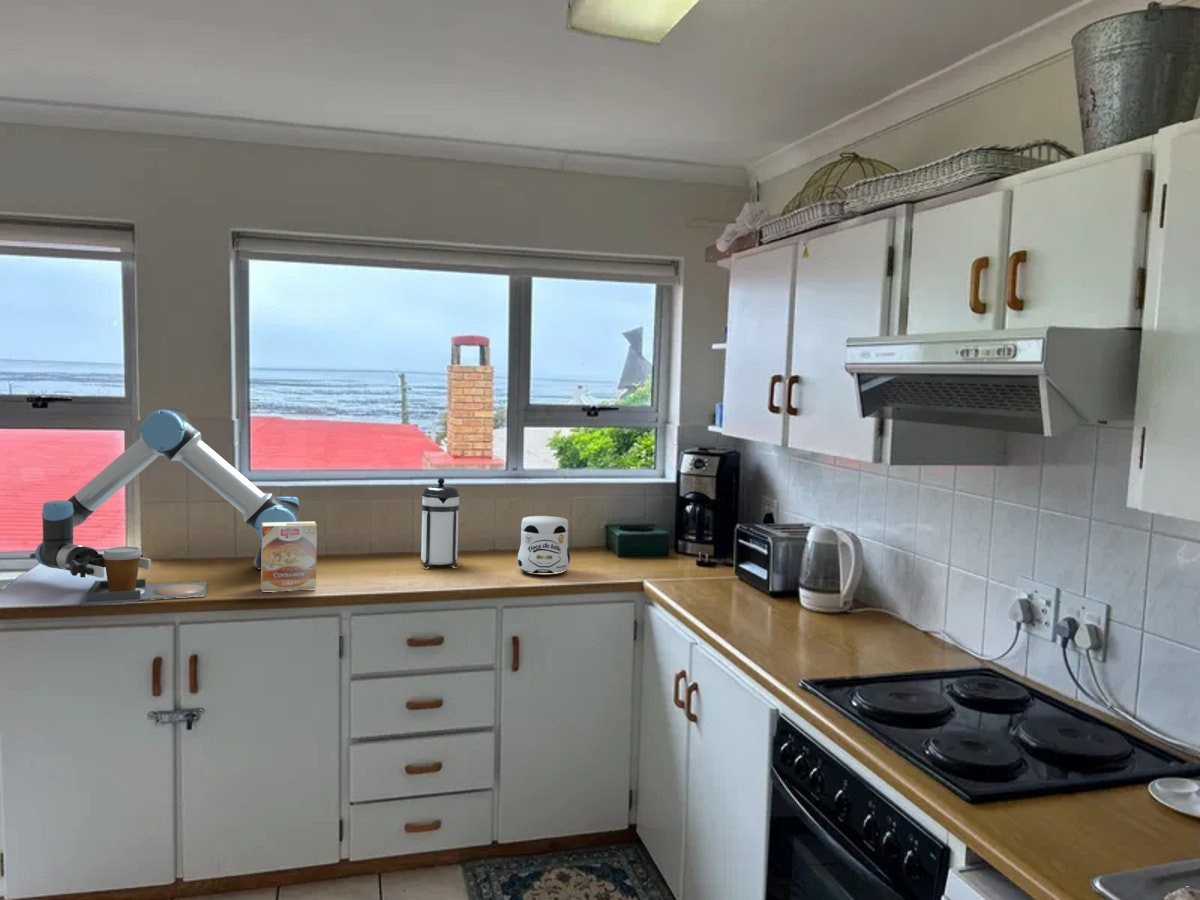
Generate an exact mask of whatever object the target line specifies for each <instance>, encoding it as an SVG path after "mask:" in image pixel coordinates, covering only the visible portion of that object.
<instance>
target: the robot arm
mask: <svg viewBox="0 0 1200 900" xmlns="http://www.w3.org/2000/svg"><path fill="white" fill-rule="evenodd" d="M139 435H140V436H139V437H140V438H139V439H137V441H135V442H134V443H132V445H130V446H129V447H127V449H126V450H125V451H124V452H122V453H121V454H120V455H118V457H116V458H115V459H114V460H113V461H112V462H111V463H110V464H108V465H107V466H106V467H105V468H104V469H102V470H101V471H100V472H99V473H98V474H96V475H95V476H94V477H92V479H91V480H89V482H87V483H86V484H85V485H84V486H83V487H81V488H80V489H79V490H77V492H76V493H74V494H73V495H72V496H71V497H69V498H68V499H67V500H63V499H62V500H50V501H45V502H44V503H43V505H42V512H41V517H42V542H40V544H38V545H37V548H36V549H35V551H34V555H35V559H36V561H37V562H38V563H39V564H41V565H42V566H46V567H47V568H51V569H59V570H64V571H69V573H70V574H71V575H72V576H73V577H74V576H77V575H78V574H79V575H80V578H86V575H87V576H91V577H94V578H95V577H96V578H101V579H102V578H105V568H106V567H105V560H104V558H103V556H102V555H103V554H104V553H99V552H98V551H97V550H96V549H95V548H94V547H89V546H84V545H79V544H74V528H75V527H79V526H80V525H82V524H83V523H84V522H85V521H87V519H88V518H89V517H90V516H91V515H93V514H94V512H95V511H97V510H98V509H99V508H100V507H101V506H102V505H103V504H104V503H106V502H107V501H108V500H110V499H111V498H112V497H113V496H114V495H115V494H117V493H118V492H119V491H120V490H121V489H122V488H124V487H125V486H126V485H127V484H128V483H129V482H130V481H132V480H133V479H134V478H135V477H136V476H137V475H139V474H140V473H141V472H142V471H143V470H144V469H146V468H147V467H148V466H149V465H150V464H152V462H154V461H155V460H156V459H157V458H158V457H160V456H161V457H162V456H165V458H167V459H168V460H170V461H171V462H180V463H182V465H184V466H185V467H186V468H187V469H189V470H190V471H191V472H192V473H193V474H194V475H196V476H197V477H198V478H200V479H201V480H202V481H203V482H205V483H206V485H208V486H209V487H210V488H211V489H213V490H214V491H215V492H216V493H218V494H219V495H220V496H221V497H222V498H223V499H225V500H226V501H227V502H228V503H230V504H231V505H232V507H235V509H236V510H238V511H239V512H240V513H242V515H243V521H244V523H245V524H246V525H248V527H250V528H251V529H252V530H253V531H255V533H256V534H257V537H259V539H260V541H259V546H258V549H257V552H256V555H255V557H254V561H253V562H254V566H255V567H256V568H260V569H261V547H262V523H267V522H300V521H299V518H300V517H299V511H300V503H299V501H300V499H299V498H298V497H296V496H276V495H275V494H273V493H271V492H264V491H262V490H261V489H260V488H258V487H257V486H256V485H255V484H254V483H252V482H251V481H250V480H249V479H248V478H247V477H245V476H244V475H243V474H242V473H241V472H239V470H238V469H236V468H235V467H233V466H232V465H231V464H230V463H229V462H228V461H227V460H225V459H224V458H223V457H222V456H221V455H220V454H219V453H217V452H216V451H215V450H214V449H212V448H211V447H210V446H209V445H208V444H206V443H205V441H203V440H202V433H201V432H200V431H199V430H198V429H197V428H196V427H195V426H194V425H192V423H191V420H190V419H189V417H188V416H187V414H186V413H184V412H183V411H181V410H178V409H174V408H166V409H165V408H164V409H157V410H154V411H152V412H151V413H149V414H148V415H147V416H146V417H145V418H144V419H143V420H142V423H141V426H140V434H139ZM143 556H144V555H143V554H141V557H140V560H139V567H138V568H140V569H145V570H152V558H146V557H143ZM255 567H254V568H255ZM256 568H255V569H256Z"/></svg>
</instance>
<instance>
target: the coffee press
mask: <svg viewBox="0 0 1200 900" xmlns="http://www.w3.org/2000/svg"><path fill="white" fill-rule="evenodd" d="M437 483H438V484H433V485H428V486H425V488H424V489H423V490H422V492H421V497H422V501H421V502H422V503H421V548H420V549H421V553H420V556H421V557H420V558H421V560H420V562H421V561H423V562H424V564H423V567H425V568H427V567H430V568H431V567H432V566H433V565H437V566H442V565H448V566H450V567H451V566H455V567H457V566H458V567H459V565H458V562H457V560H458V547H459V545H458V544H459V543H458V541H459V540H458V539H459V511H460V502H459V501H460V496H461V493H460V492H459V489H458V488H457V487H456V486H453V485H449V484H447V485H446V484H445V479H444V478H443V477H439V478H438V479H437Z"/></svg>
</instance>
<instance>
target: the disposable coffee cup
mask: <svg viewBox="0 0 1200 900" xmlns="http://www.w3.org/2000/svg"><path fill="white" fill-rule="evenodd" d="M102 554H103V555H102V556H103V558H104V560H105V567H104V568H105V572H106V573H105V574H106V579H107V581H108V588H109V592H113V591H132V590H135V588H136V581H137V579H138V575H139V574H138V572H139V568H140V567H139V560H140V557H141V555H143V552H142V551H141V548H140V547H138V546H137V547H136V546H117V547H109V548H106V549H104V551H103V553H102Z"/></svg>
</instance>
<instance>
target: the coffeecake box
mask: <svg viewBox="0 0 1200 900" xmlns="http://www.w3.org/2000/svg"><path fill="white" fill-rule="evenodd" d="M317 536H318V525H317V523H316V521H299V522H267V523H262V547H261V570H260V591H261V590H262V591H288V590H305V589H306V590H308V589H316V590H317V588H316V587H317V545H318V541H317V539H318V537H317ZM262 591H261V592H262ZM308 591H309V590H308Z"/></svg>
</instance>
